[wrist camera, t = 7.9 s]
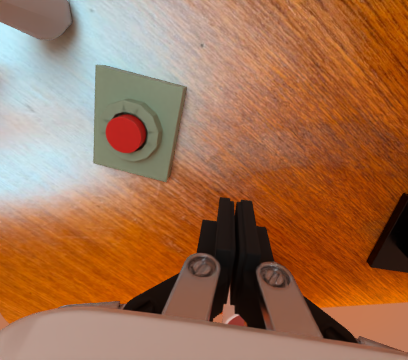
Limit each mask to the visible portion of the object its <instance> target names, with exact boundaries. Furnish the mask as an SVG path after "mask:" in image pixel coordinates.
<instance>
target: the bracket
mask: <svg viewBox="0 0 408 360" xmlns="http://www.w3.org/2000/svg"><path fill="white" fill-rule="evenodd" d="M367 263H368V264H369V265H370V267H373V268H380V269H386V270H393V271H400V272H406V273H408V194H406V193H403V195H402V197H401V199H400V201H399V202H398V204H397V206H396V208H395V210H394V212H393V214H392V215H391V217H390V219H389V221H388V223H387V225H386V227H385V228H384V230H383V232H382V234H381V236H380V238H379V240H378V241H377V243H376V245H375V247H374V249H373V251H372V253H371V254H370V256H369V258H368V260H367Z"/></svg>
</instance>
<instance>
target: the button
mask: <svg viewBox="0 0 408 360" xmlns="http://www.w3.org/2000/svg"><path fill="white" fill-rule="evenodd" d="M106 138H107V140H108V142H109V144H110V145H111V146H112V147H113V148H114V149H115V150H117V151H119V152H122V153H131V152H134V151H135V150H137V149H138V148H139V147H140V146H141V145H142V144H143V143H144V142H145V139H146V129H145V127H144V125H143V123H142V122H141V121H140V120H139V119H138V118H137V117H135V116H133V115H129V114H124V115H121V116H118V117H116V118H113V119H112V120H110V121H109V123H108V124H107V126H106Z"/></svg>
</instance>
